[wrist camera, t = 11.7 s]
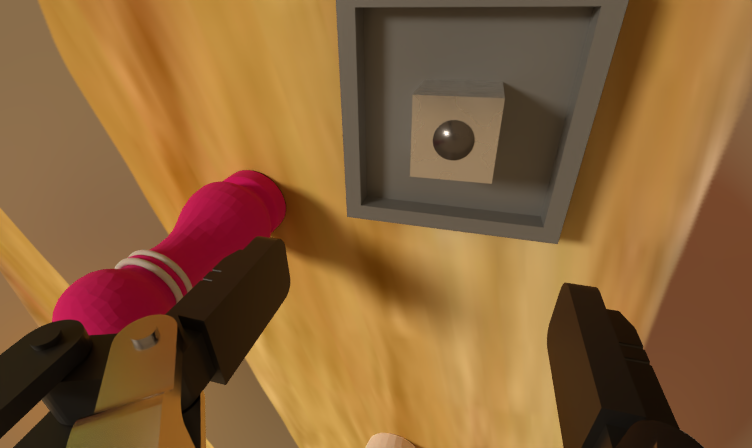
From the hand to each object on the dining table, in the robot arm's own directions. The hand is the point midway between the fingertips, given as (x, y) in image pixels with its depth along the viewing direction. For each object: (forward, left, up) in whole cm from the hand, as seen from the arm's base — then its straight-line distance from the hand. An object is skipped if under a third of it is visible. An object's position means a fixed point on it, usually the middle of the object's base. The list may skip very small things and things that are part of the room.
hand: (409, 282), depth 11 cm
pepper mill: (-18, -9, -19) cm, 28 cm away
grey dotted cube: (0, 0, -18) cm, 18 cm away
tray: (0, 0, -19) cm, 19 cm away
